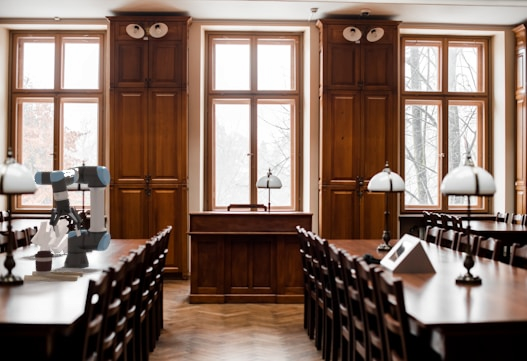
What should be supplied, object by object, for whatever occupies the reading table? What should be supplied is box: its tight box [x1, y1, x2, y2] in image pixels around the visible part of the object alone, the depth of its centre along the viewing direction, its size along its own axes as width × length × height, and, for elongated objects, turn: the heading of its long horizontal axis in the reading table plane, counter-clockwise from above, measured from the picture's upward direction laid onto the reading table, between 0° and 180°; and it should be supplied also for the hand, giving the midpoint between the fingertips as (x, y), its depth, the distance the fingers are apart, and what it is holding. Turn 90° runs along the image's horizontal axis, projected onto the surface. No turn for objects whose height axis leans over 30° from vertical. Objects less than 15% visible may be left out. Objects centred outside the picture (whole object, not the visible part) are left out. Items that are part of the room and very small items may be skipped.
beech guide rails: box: [23, 270, 84, 282], centre depth 319 cm, size 16×28×2 cm, turn 96°
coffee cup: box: [34, 250, 55, 275], centre depth 319 cm, size 10×10×15 cm
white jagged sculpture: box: [30, 218, 70, 255], centre depth 417 cm, size 35×30×35 cm
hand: (68, 236), depth 316 cm, fingers open, 13 cm apart
